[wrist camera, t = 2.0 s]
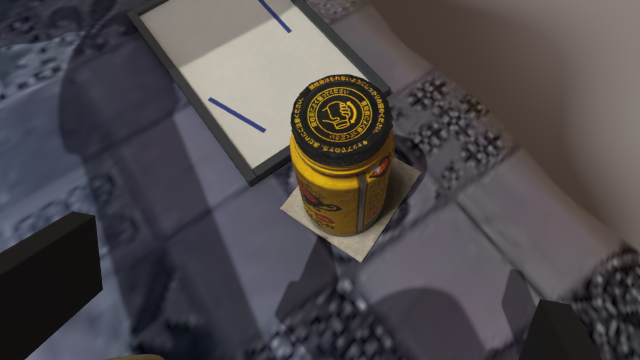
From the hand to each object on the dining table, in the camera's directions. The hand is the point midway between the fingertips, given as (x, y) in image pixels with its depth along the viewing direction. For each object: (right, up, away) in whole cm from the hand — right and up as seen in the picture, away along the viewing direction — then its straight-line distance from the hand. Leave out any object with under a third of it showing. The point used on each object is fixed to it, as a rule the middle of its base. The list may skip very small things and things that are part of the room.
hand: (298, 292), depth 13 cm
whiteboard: (-5, +15, +26) cm, 30 cm away
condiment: (+3, +2, +20) cm, 20 cm away
